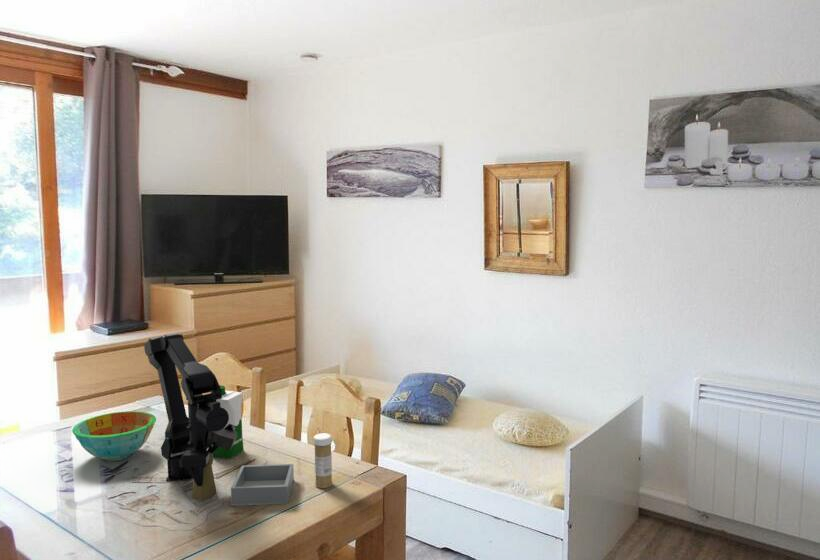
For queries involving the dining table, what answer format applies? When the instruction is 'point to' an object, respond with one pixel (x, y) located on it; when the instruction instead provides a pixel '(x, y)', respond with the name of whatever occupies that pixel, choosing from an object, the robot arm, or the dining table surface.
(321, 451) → the sprinkles bottle
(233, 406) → the milk carton
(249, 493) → the box
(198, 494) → the cork
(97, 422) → the bowl
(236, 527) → the dining table surface
